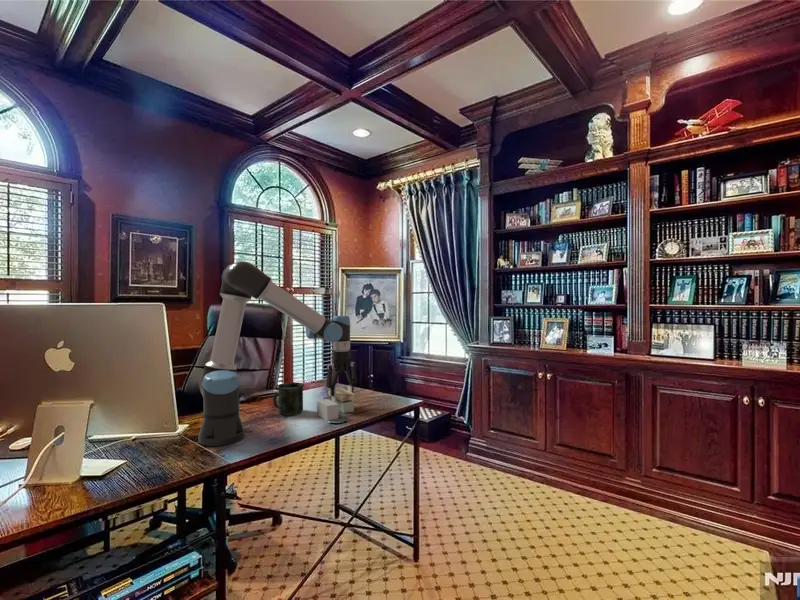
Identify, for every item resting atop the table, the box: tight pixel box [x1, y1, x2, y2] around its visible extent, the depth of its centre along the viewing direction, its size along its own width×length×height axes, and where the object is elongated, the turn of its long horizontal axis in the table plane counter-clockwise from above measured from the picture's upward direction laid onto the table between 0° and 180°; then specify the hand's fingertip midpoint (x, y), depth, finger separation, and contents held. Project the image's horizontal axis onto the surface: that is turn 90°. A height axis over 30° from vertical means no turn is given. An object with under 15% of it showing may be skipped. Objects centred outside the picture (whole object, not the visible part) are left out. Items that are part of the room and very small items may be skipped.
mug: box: [272, 382, 304, 416], centre depth 179 cm, size 11×15×12 cm
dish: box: [330, 396, 355, 414], centre depth 184 cm, size 5×12×4 cm, turn 34°
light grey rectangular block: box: [316, 398, 339, 422], centre depth 173 cm, size 5×10×6 cm, turn 34°
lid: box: [328, 388, 358, 401], centre depth 184 cm, size 7×14×2 cm, turn 34°
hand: (342, 401), depth 184 cm, fingers closed on lid, 7 cm apart
